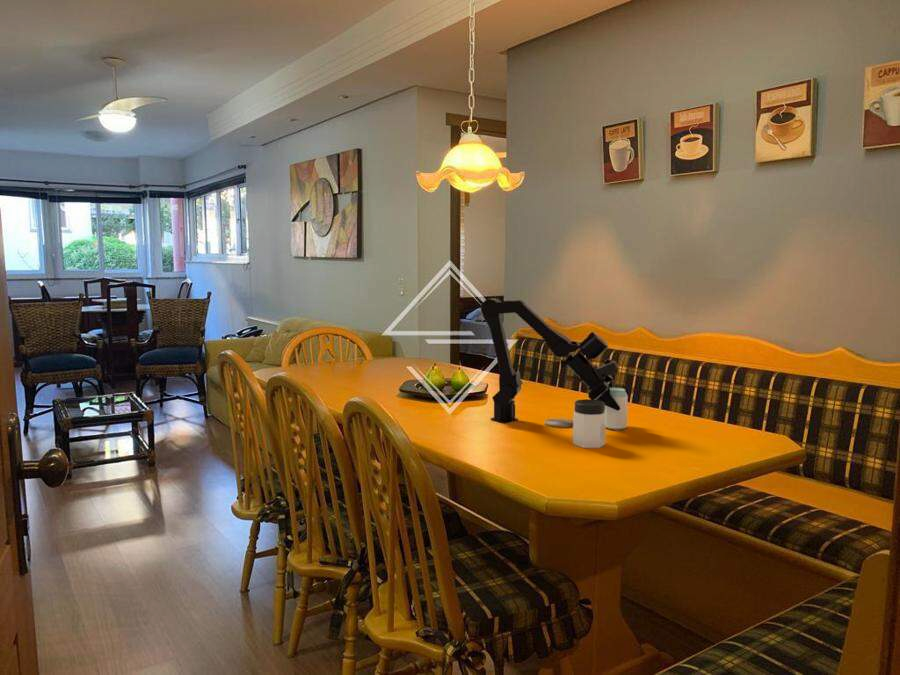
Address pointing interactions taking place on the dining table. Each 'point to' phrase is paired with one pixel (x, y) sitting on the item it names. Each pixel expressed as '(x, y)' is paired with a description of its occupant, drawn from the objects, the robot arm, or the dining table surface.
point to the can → (614, 417)
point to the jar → (589, 423)
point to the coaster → (559, 422)
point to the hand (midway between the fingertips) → (620, 406)
